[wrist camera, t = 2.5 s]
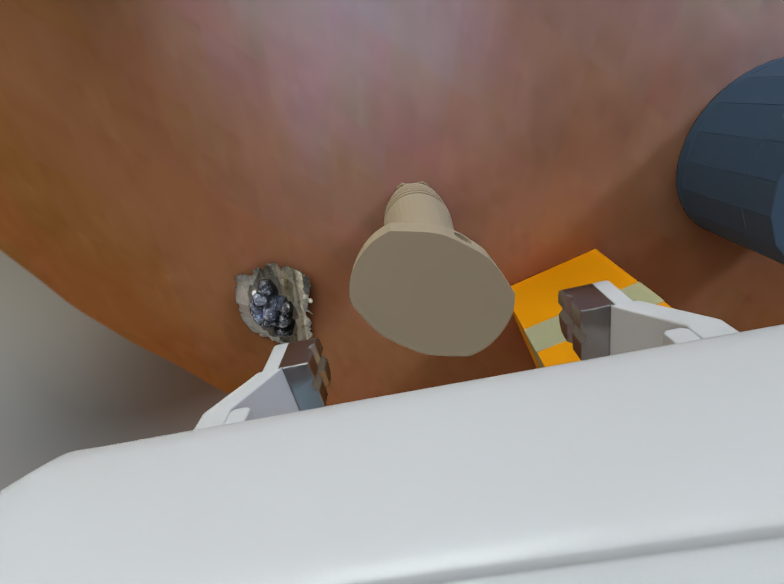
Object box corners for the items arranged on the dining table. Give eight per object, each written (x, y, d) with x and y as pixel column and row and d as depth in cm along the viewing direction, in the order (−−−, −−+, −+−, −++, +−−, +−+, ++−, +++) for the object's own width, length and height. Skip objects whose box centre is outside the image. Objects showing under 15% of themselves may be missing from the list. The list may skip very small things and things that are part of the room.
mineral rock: (297, 249, 30) (292, 258, 29) (339, 334, 34) (337, 346, 32) (218, 276, 31) (209, 287, 30) (267, 356, 35) (260, 370, 33)
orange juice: (535, 369, 36) (683, 653, 18) (499, 289, 32) (639, 542, 14) (625, 334, 34) (886, 606, 16) (597, 246, 30) (894, 469, 13)
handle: (434, 249, 30) (469, 374, 17) (357, 210, 29) (329, 313, 16) (469, 192, 29) (539, 282, 15) (388, 148, 27) (386, 204, 14)
